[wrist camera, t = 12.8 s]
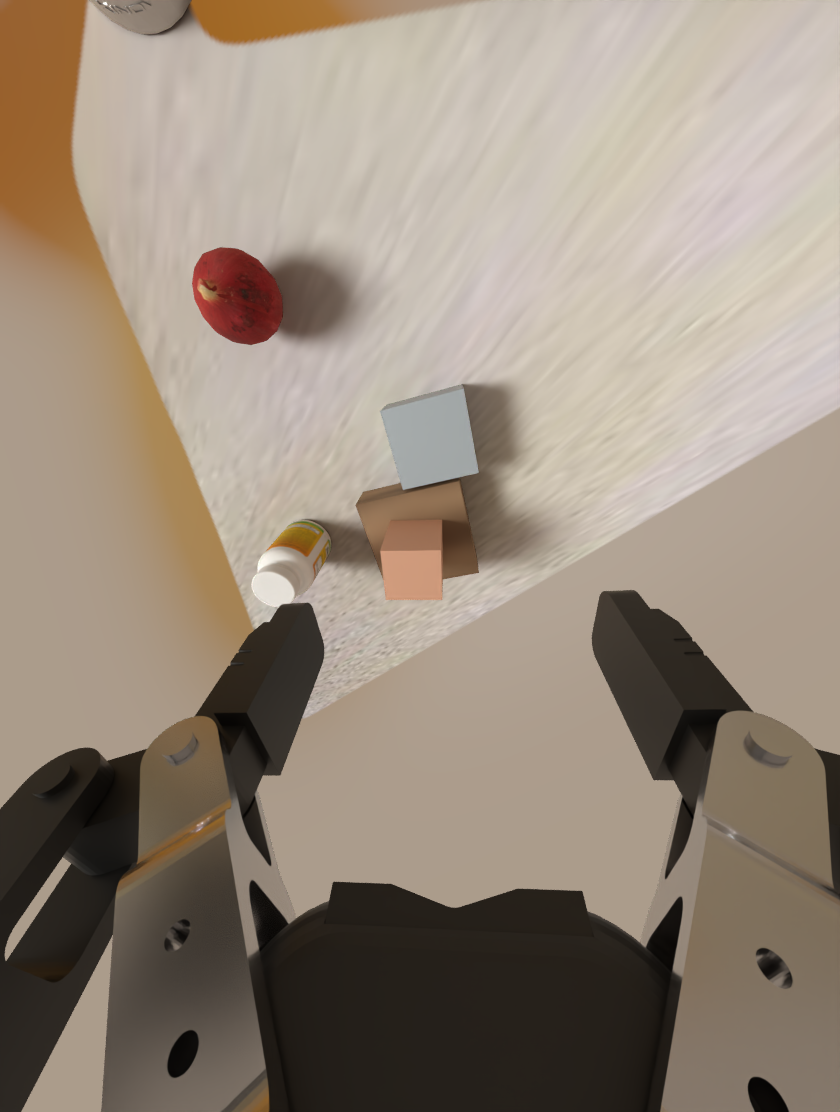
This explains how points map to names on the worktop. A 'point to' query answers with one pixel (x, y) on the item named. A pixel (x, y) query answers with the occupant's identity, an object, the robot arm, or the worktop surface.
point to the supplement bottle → (291, 563)
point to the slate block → (431, 437)
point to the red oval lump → (237, 296)
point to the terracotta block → (413, 560)
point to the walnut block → (423, 505)
